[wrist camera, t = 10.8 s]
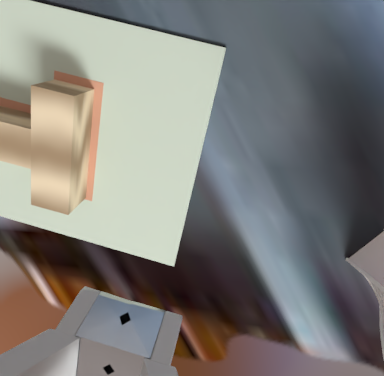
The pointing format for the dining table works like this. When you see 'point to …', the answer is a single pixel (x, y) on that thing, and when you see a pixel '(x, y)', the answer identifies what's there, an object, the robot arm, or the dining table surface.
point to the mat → (113, 122)
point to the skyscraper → (373, 271)
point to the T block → (51, 143)
